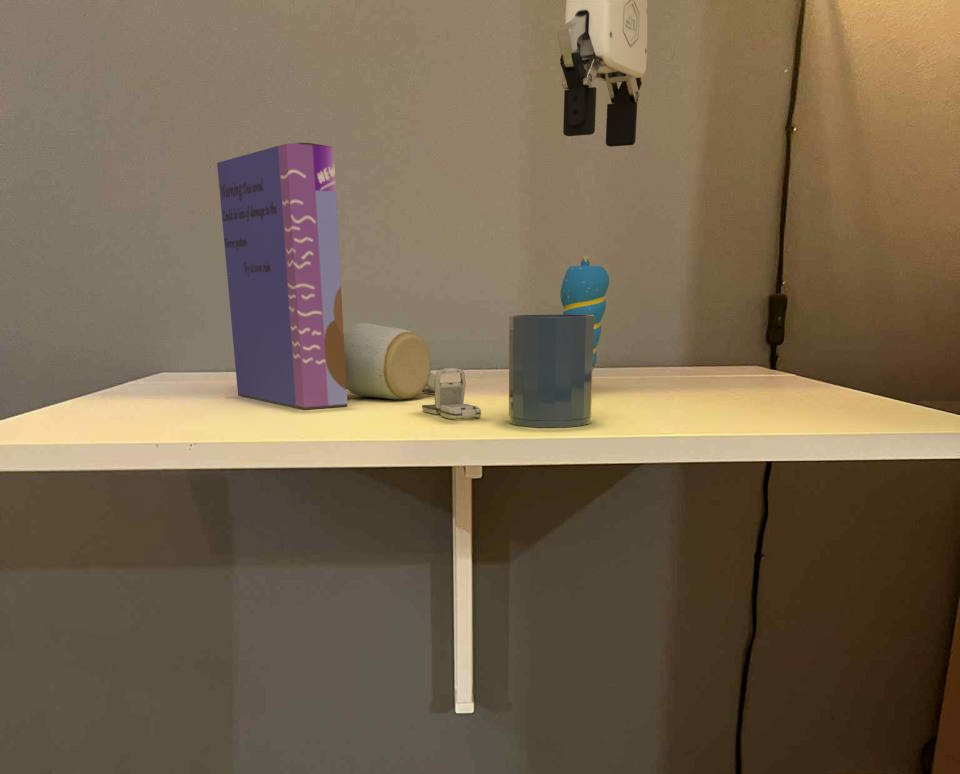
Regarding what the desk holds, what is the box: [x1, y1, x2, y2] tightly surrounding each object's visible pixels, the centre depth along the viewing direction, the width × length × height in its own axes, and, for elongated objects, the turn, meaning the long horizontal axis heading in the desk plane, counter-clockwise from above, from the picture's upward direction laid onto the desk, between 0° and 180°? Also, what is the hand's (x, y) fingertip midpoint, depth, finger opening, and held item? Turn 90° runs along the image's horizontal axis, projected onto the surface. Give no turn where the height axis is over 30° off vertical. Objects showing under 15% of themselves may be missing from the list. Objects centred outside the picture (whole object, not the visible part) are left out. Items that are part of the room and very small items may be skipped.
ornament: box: [560, 248, 610, 370], centre depth 106 cm, size 5×5×15 cm
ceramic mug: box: [344, 322, 436, 401], centre depth 107 cm, size 11×8×8 cm
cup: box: [508, 313, 594, 429], centre depth 86 cm, size 7×7×9 cm
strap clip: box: [421, 367, 482, 420], centre depth 92 cm, size 8×3×4 cm, turn 25°
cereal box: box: [216, 142, 348, 411], centre depth 101 cm, size 17×5×24 cm, turn 35°
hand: (600, 140), depth 100 cm, fingers open, 9 cm apart
